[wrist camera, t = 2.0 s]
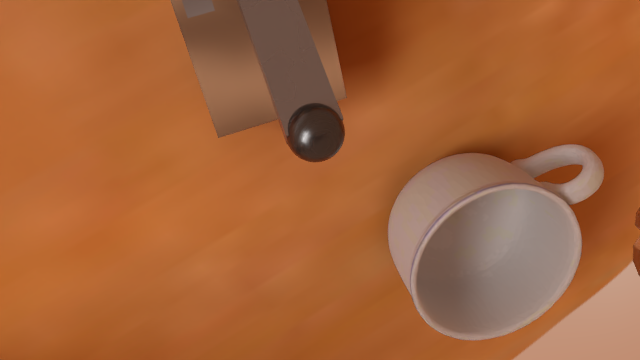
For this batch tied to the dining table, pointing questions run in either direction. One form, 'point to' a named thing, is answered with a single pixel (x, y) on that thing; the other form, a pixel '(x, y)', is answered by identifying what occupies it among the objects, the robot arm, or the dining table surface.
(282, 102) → the lever
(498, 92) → the dining table surface
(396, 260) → the teacup
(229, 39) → the brown lever base
